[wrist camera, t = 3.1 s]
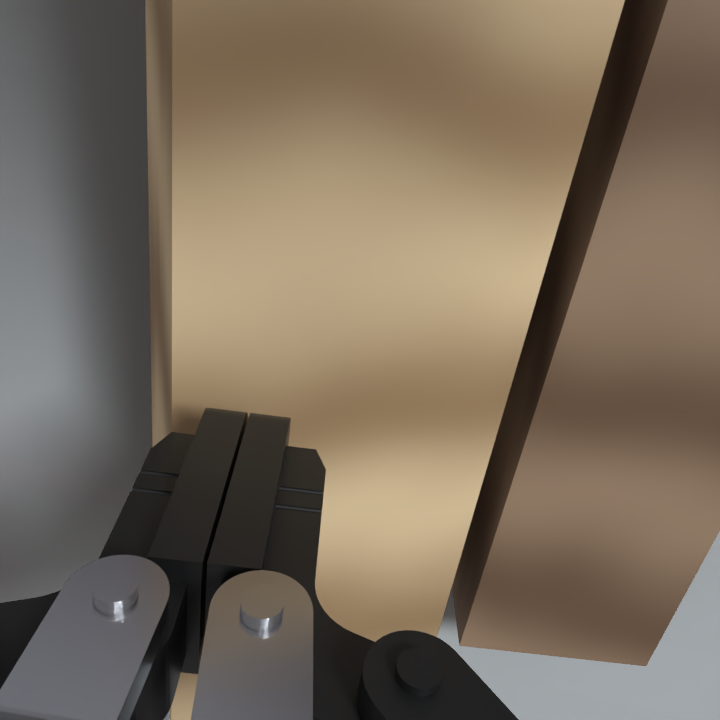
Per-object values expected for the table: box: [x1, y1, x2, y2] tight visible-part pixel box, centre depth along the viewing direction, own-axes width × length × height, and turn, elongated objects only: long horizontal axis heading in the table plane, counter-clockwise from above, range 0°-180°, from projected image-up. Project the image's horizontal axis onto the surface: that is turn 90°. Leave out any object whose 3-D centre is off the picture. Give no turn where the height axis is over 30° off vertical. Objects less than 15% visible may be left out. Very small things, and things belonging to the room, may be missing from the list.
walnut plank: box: [452, 0, 720, 666], centre depth 18 cm, size 20×6×2 cm, turn 172°
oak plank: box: [145, 0, 625, 720], centre depth 15 cm, size 20×8×2 cm, turn 172°
